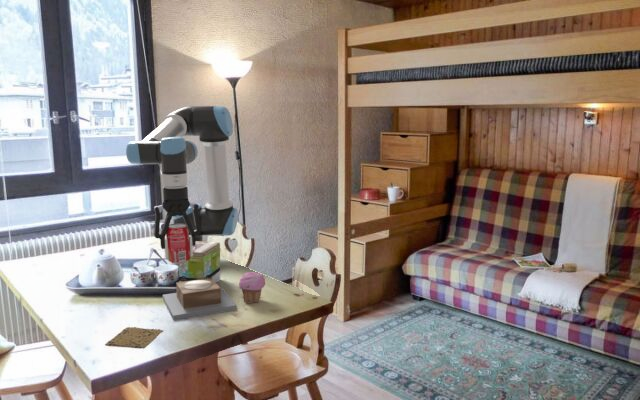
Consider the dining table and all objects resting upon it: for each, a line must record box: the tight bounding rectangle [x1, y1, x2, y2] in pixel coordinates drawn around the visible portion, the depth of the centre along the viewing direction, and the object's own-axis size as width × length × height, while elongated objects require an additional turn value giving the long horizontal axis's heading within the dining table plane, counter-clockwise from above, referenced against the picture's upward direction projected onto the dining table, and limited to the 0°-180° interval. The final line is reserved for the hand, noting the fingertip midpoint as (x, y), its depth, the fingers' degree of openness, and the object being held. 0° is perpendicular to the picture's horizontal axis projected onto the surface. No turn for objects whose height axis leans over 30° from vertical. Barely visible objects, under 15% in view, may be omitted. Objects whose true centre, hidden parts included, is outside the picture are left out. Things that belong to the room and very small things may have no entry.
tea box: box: [178, 241, 221, 283], centre depth 195 cm, size 15×10×15 cm, turn 168°
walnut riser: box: [175, 278, 221, 309], centre depth 176 cm, size 12×12×5 cm
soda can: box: [165, 223, 190, 265], centre depth 171 cm, size 7×7×12 cm
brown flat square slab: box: [104, 326, 164, 349], centre depth 152 cm, size 12×12×1 cm
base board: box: [162, 285, 237, 321], centre depth 177 cm, size 20×20×2 cm
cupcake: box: [238, 271, 266, 304], centre depth 179 cm, size 9×9×10 cm
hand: (178, 256), depth 172 cm, fingers closed on soda can, 7 cm apart
